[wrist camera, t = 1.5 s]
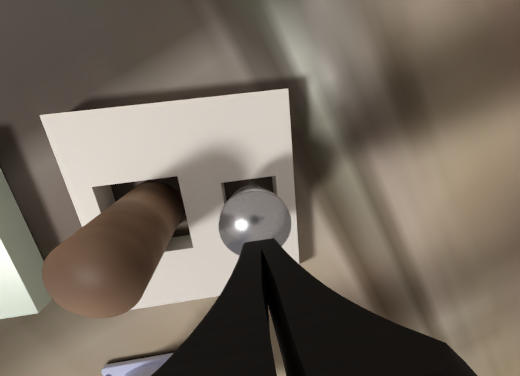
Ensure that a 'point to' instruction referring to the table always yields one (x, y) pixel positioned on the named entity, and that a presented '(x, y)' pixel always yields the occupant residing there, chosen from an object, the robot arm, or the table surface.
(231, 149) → the socket block
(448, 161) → the table surface
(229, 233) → the grey metal knob
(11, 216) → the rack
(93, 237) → the peg
